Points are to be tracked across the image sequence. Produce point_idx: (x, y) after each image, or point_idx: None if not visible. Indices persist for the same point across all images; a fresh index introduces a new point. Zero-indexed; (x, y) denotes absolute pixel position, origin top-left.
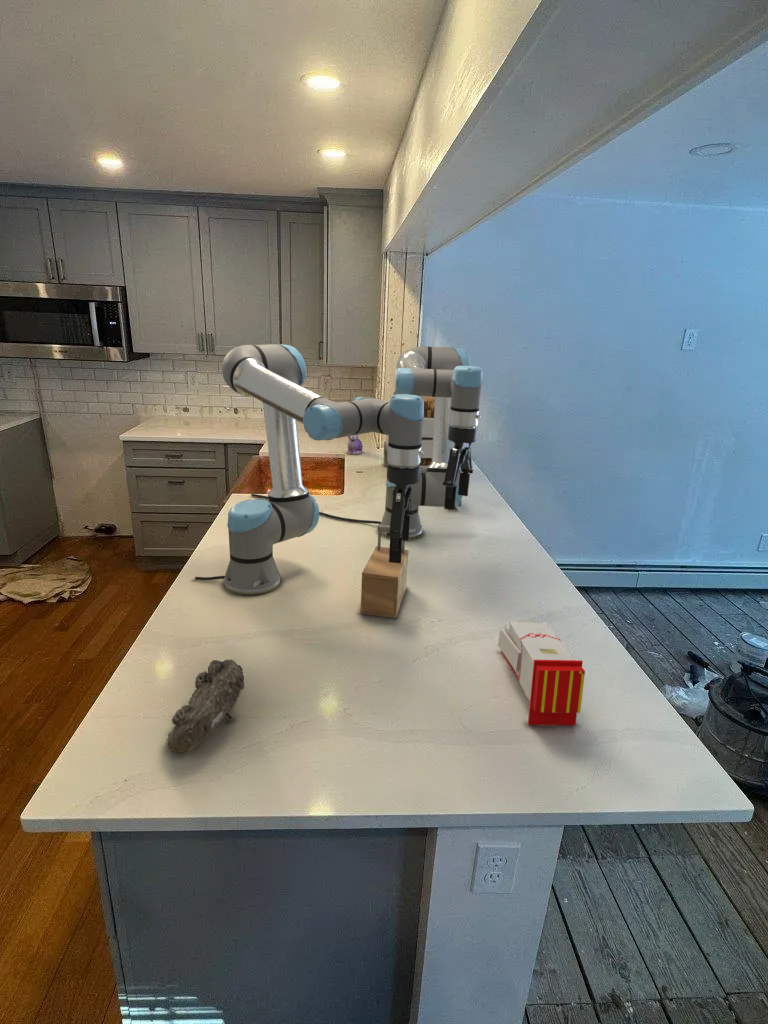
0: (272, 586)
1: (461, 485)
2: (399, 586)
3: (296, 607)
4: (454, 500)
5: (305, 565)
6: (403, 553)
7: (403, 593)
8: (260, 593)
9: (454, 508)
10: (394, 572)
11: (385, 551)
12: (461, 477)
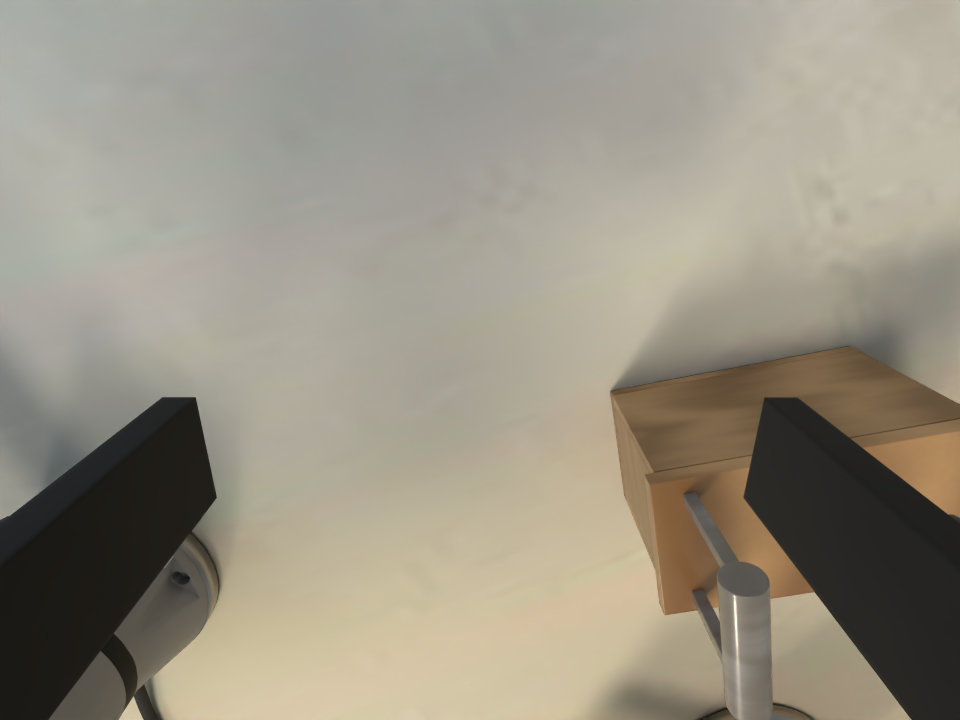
0: (780, 716)
1: (139, 556)
2: (879, 400)
3: None
4: (879, 465)
5: (580, 704)
6: (702, 491)
7: (686, 383)
8: (808, 718)
9: (778, 403)
10: (946, 455)
11: (710, 564)
12: (48, 679)
